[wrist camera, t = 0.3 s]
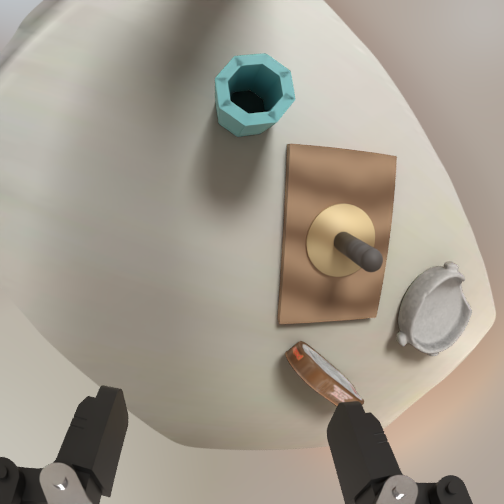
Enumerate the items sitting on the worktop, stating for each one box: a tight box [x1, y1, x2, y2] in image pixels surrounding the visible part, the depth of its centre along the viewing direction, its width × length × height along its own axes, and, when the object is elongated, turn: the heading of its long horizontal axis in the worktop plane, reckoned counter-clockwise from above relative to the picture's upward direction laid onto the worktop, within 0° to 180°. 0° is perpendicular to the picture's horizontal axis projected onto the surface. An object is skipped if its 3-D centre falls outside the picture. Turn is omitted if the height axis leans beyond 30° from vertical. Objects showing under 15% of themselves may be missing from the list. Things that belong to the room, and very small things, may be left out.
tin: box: [285, 341, 364, 406], centre depth 39 cm, size 15×3×8 cm, turn 44°
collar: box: [215, 53, 295, 137], centre depth 28 cm, size 6×6×10 cm
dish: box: [397, 262, 472, 356], centre depth 41 cm, size 14×14×5 cm
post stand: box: [277, 144, 397, 324], centre depth 33 cm, size 22×14×11 cm, turn 178°
